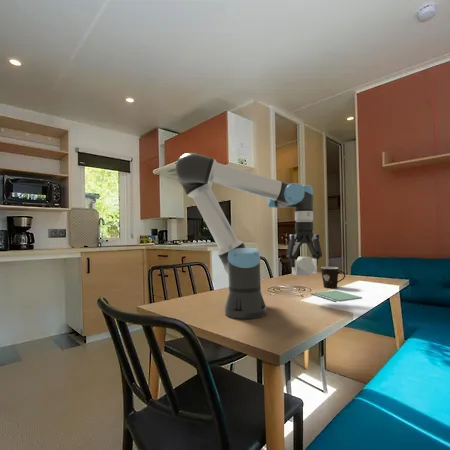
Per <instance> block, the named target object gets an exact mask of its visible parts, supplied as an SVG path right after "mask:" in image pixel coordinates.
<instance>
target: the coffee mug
mask: <svg viewBox="0 0 450 450" xmlns="http://www.w3.org/2000/svg"><path fill="white" fill-rule="evenodd" d="M320 271H321V277H322V284H323V288H324V289H329V288H330V289H332V290H333V289H337V288H338V283H339V282H341V281H343V280H344V279H345V278H346V272H344V271H341V270H340V271H339V267H338V266H337V267H336V266H321V267H320ZM339 273H342V274H343V277H342V278H341V279H340V280H338V279H339Z"/></svg>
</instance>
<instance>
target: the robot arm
mask: <svg viewBox="0 0 450 450" xmlns="http://www.w3.org/2000/svg"><path fill="white" fill-rule="evenodd" d="M175 173H176V176H177V181H178V183H179V184H180V186H181V187H182V189H183V190H184V192H185V194H186V196H187V197H188V198H192V199H193V201H194V203H195V205H196V207H197V209H198V211H199V213H200V215H201V216H202V219H203V221H204V223H205V225H206V226H207V228H208V230H209V232H210V234H211V236H212V238H213V240H214V242H215V244H216V245H217V248H218V249H219V250H218V253H217V256H218V258H219V259H220V262H221V263H222V265H223V268H224V270H225V272H226V274H228V295H227V299H226V302H225V305H224V314H225V316H227V317H229V318H232V319H238V320H250V319H251V320H252V319H258V318H261V317H264V316H265V315H266V314H267V305H266V303H265V300H264V297H263V295H262V292H261V291H262V290H261V289H262V287H261V285H262V284H261V256H260V252H259V251H258V250H257V249H255V248H249V247H246V245H245V244H244V242H243V241H242V240H239V239H238V238H237V236H236V235H235V232H234V230H233V228H232V226H231V224H230V223H229V220H228V219H227V217H226V215H225V213H224V211H223V209H222V207H221V205H220V203H219V201H218V199H217V198H216V196H215V193H214V192H213V190H212V186H213V184H216V185H219V186H223V187H226V188H230V189H233V190H236V191H241V192H244V193H248V194H251V195H253V196H258V197H262V198H265V199H266V204H267V206H268V208H275V209H277V208H281V209H283V208H285V209H287V208H292V209H293V208H294V221H295V223H294V231H295V232H294V234H289V235H288V244H287V249H286V255H285V257H286V258H287V259H289V260H290V261H289V265H290V268H291V276H298V274H297V259H296V258H297V257H298V256H297V255H298V254H299V250H300V249H301V246H302V245H303V244H306V245H307V247H308V251H310V254H311V258H312V261H313V264H314V267H315V269H314V271H313V272H312V274H313V275H318V266H319V259H320V258H323V253H322V248H321V244H320V234H314V233H313V231H314V222H313V221H314V189H313V187H312V185H310V184H301V183H297V182H294V183H293V182H291V183H288V182H284V181H280V180H277V179H274V178H270V177H267V176H263V175H260V174H257V173H253V172H250V171H247V170H243V169H240V168H238V167H237V168H236V167H233V166H230V165H225V164H223V163H219V162H217V160H216V159H215V158H213V157H209V156H206V155H202V154H199V153H195V152H187V153H184V154H182V155H181V156H180V157H178V158H177V161H176V163H175ZM312 274H311V275H312Z"/></svg>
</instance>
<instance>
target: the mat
mask: <svg viewBox="0 0 450 450" xmlns="http://www.w3.org/2000/svg"><path fill="white" fill-rule="evenodd" d="M314 294H316V295H319V296H322V297H326V298H329V299H332V300H335V301H336V302H337V301H338V302H344V301H351V300H357V299H362V298H363V297H362V296H359V295H355V294H351V293H348V292H343V291H340V290H329V291H327V290H326V291H319V292H314Z"/></svg>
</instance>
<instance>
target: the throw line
mask: <svg viewBox="0 0 450 450" xmlns="http://www.w3.org/2000/svg"><path fill="white" fill-rule="evenodd" d="M310 295H311V296H314V297H318V298H321V299H324V300H326V301H330V302H335V303H337V300H334V299H331V298H327V297H324V296H321V295H318V294H315V293H313V292H312V293H310Z"/></svg>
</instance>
